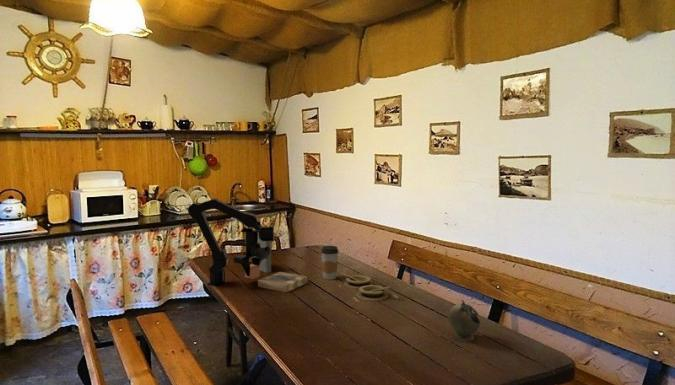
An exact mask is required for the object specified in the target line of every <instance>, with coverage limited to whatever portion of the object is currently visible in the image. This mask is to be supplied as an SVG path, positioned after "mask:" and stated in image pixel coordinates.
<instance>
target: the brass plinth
mask: <svg viewBox="0 0 675 385" xmlns="http://www.w3.org/2000/svg"><path fill="white" fill-rule="evenodd" d="M307 283H308V276H306V275H300V274H295V273H294V274H293V273H288V272H283V271H278V272H275V273H273V274H270V275H267V276H265V277H262V278H260V279H258V280H257V287H258V288H264V289H267V290H268V289H269V290H274V291H278V292H284V293H288V292H290V291H293V290H295V289H297V288H298V287H301V286H304V285H306V284H307Z"/></svg>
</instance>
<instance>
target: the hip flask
mask: <svg viewBox="0 0 675 385" xmlns="http://www.w3.org/2000/svg"><path fill="white" fill-rule="evenodd" d="M258 243H260V246H261V248H265V247H270V254H269V256H268V257H267V258H265V259H263V260H262V261H261V263H260V265H259V266H260V272H264V273H272V244H271V243H272V241H262V240H260V239H259V232H258Z"/></svg>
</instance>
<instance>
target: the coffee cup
mask: <svg viewBox="0 0 675 385" xmlns="http://www.w3.org/2000/svg"><path fill="white" fill-rule="evenodd" d="M320 250H321V252H320V253H321V267H322V268H321V269H322V277H323V279H324V280H328V281H330V280H331V281H332V280H335V279H337V271H338V262H339V261H338V258H339V248H338V247H337V246H335V245H323V246H322V247H321V249H320Z"/></svg>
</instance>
